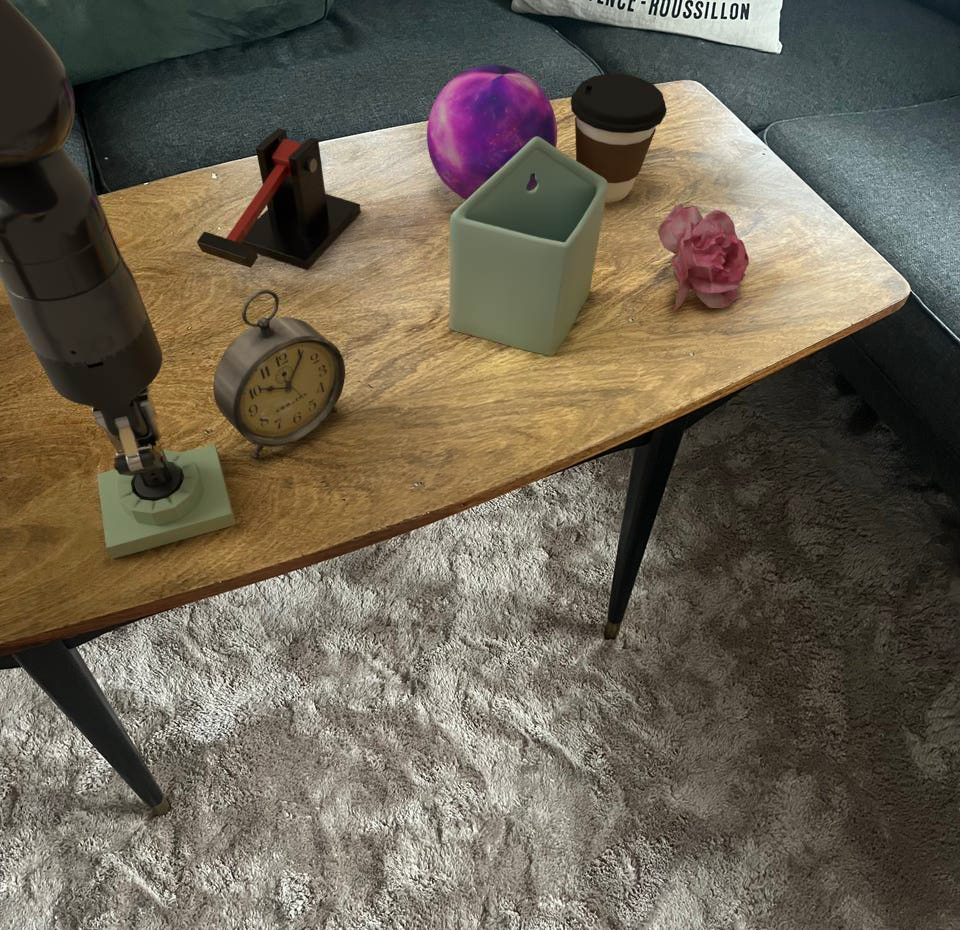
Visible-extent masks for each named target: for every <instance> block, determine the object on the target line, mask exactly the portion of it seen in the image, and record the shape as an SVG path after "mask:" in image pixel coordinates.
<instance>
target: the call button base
mask: <svg viewBox="0 0 960 930" xmlns="http://www.w3.org/2000/svg"><path fill="white" fill-rule="evenodd" d="M163 451H164V453H165V456H166V458H167V461H168V463H169V464H171V465H173V466H175V467H176V468H177V469H178V471H179V473H180V475H181V478H182V480H183V482H182V484H181V486H180V488H179V490H177V491H176V492H175V493H173V494H172V495H171V496H169V497H168V498H165V499H161V500H157V501H149V500H143V499H141V498H140V496H139V494H138V492H137V490H136V488H135V479H136V477H137V475H138V474H139V473H138V474H137V475H133V476H127V475H120V474H119V473H118V471H117V470H116V469H115V468H114V469H111V470H107V471H103V472H100V473H99V472H98V473H96V477H97V484H98V494H99V500H100V501H99V502H100V507H101V508H100V509H101V517H102V523H103V524H102V525H103V533H104V541H105V547H106V550H107V551H108V553H109V555H110V556H111V558H112V560H115V559H118V558H122V557H125V556H130V555H133V554H136V553H140V552H143V551H147V550H151V549H153V548H157V547H162V546H164V545H169V544H171V543H175V542H179V541H182V540H186V539H190V538H194V537H197V536H200V535H205V534H207V533H211V532H215V531H218V530H222V529H226V528H230V527H233V526H236V525H237V523H236V519H235V515H234V510H233V507H232V502H231V499H230V493H229V490H228V486H227V482H226V478H225V474H224V470H223V466H222V461H221V457H220V454H219V451H218V448H217V445H216V444H215V443H214V444H210V445H206V446H201V447H198V448H194V449H189V450H186V451H177V450H169V449H164V448H163Z"/></svg>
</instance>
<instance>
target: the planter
mask: <svg viewBox="0 0 960 930" xmlns="http://www.w3.org/2000/svg"><path fill="white" fill-rule="evenodd" d="M532 173H535V179H536V181H537V186H536V187H535V188H534V189H533V190H531V191H527V190H526V186H527V184H528V183H529V181H530V176H531V174H532ZM607 187H608V183H607V181H606V179H605V178H603V177H602V176H600V175H598V174H596V173H595V172H593V171H591V170H590V169H588V168H587V167H585V166H584V165H582V164H580V163H579V162H577V161H576V159H574V158H572V157H571V156H569V155H568V154H566V153H564V152H562V151H561V150H559V148H557V147H556V148H555V147H553V146H552V145H551V144H549V143H548V142H546V141H545V140H543V139H542V138H540V137H534V138H533V139H531V140H530V141H529V142H528V143H527V144H526V145H525V146H524V147H523V148H522V149H521V150H520V151H519V152H518V153H517V154H516V155H515V156H514V157H512V158H511V159H510V160H509V161H508V162H507V163H506V164H505V165H504V166H503V167H502V168H501V169H500V170H499V171H497V172H496V173H495V174H494V175H493V176H492V177H491V178H490V179H489V180H487V181H486V182H485V183H484V184H483V185H482V186H481V187H480V188H479V189H478V190H477V191H476V192H474V193H473V194H472V195H471V196H470V197H469V198H468V199H465V200H464V202H463V203H461V204H460V205H459V206H458V207H457V208H456V209H455V210H454V211H453V212H452V214H451V215H450V218H449V276H448V277H449V285H448V287H449V288H448V289H449V290H448V291H449V293H448V295H449V299H448V300H449V307H448V309H449V310H448V311H449V312H448V313H449V314H448V315H449V316H448V317H449V318H448V327H449V329H450V330H452V331H454V332H457V333H460V334H465V335H469V336H472V337H476V338H479V339H483V340H487V341H491V342H494V343H498V344H501V345H505V346H509V347H511V348H516V349H520V350H523V351H527V352H532V353H535V354H540V355H545V356H548V357H552V356H554V355H555V354H556V352H557V351H558V349H559V348H560V346H561V345H562V344H563V342H564V341H565V340H566V338H567V336H568V334H569V332H570V330H571V329H572V326H573V325H574V323H575V321H576V319H577V317H578V316H579V313H580V312H581V310H582V308H583V306H584V304H585V303H586V301H587V299H588V298H589V295H590V293H591V292H590V291H591V287H592V282H593V281H592V280H593V276H594V275H593V274H594V269H595V263H596V259H597V258H596V257H597V253H598V246H599V240H600V234H601V229H602V224H603V223H602V222H603V217H604V212H605V206H606V202H605V200H606V194H607Z"/></svg>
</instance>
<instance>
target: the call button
mask: <svg viewBox="0 0 960 930" xmlns="http://www.w3.org/2000/svg"><path fill="white" fill-rule="evenodd" d="M169 465H170V470H171V476H172V480H171V481H170V482H169V483H165V484H161V485H157V486H153V487H146V486H145V485H144V484H143V481H142V479H141V477H140V475H139V474H138V475H137V477H136V479H135V488H136V490H137V492H138V494H139V496H140V498H141V499H143V500H149V501H157V500H161V499H165V498H168V497H169V496H171V495H172V494H173V493H175V492H176V491H177V490H179V488H180V486H181V484H182V482H183V480H182V478H181V475H180V473H179V471H178V469H177V468H176V467H175V466H173V465H171V464H169Z"/></svg>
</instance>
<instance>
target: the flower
mask: <svg viewBox="0 0 960 930" xmlns="http://www.w3.org/2000/svg"><path fill="white" fill-rule="evenodd" d="M657 234H658V237H659V241H660V242H661V244H662V247H663V248H664V249H666V250H667V251H669V252H671V253H672V254H673V256H671V258H670V259H669V260H668V261H667V262H664V263H661V264H660V263H659V264H658V266H660V265H666V264H670V265H671V267H672V270H673V276H674V278H675V281H676V282H677V283H678V289H677V290H676V292H675V295H676V296H675V297H676V299H675V302H674V305H673V310H674V311H675V312H676V311H677V310H678V309H679V307H680V306H682V304H683V303H684V302H685V300H686V298H687V297H688V295H689V293H690V292H691V290H693V292H694V294H695V295H696V296H697V298H698V299H699V300H700V301H701V302H702V303H704V304H705V305H706V306H707V307H708V308H712V309H724V308H727V307H729V306H730V304H731V303H733V302H735V301H737V300H738V299H739V297H740V292H739V290H738V289H739V287H740V285H741V282H742V281H743V280H744V278H745V277H746V271H747V268H748V266H749V265H750V263H749V261H750V258H749V255H748V253H747V249H746V246H745V243H744V242H743V240H742V239H740V238H738V235H737V233H736V227H735V223H734V221H733V219H731V216H729V215H728V214H727V212H725V211H722V210H719V209H714V210H712V211H710V212H709V213H707V214H706V215H705V216H704V217H703V215H702V214H701V212H700V210H699V208H698V206H695V205H690V206H683V203H680V204H677V205H674V206H673V208H672V209H671V211H670V212H669V213H668V214H667V216H665V218H664V219H663V221H662V222H661V223H660V225H659V227H658V229H657ZM656 266H657V264H653V265H650V267H656Z"/></svg>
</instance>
